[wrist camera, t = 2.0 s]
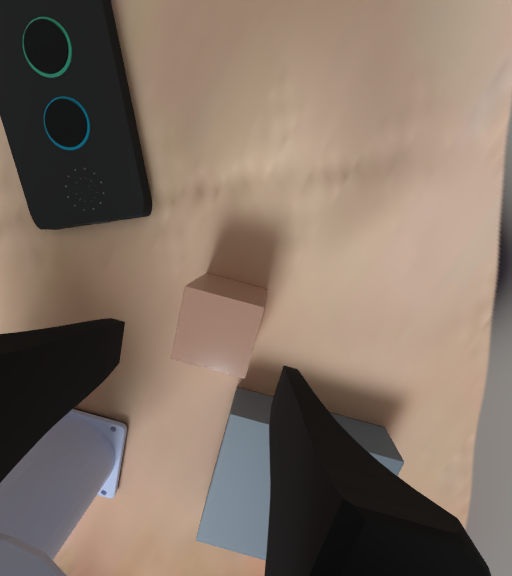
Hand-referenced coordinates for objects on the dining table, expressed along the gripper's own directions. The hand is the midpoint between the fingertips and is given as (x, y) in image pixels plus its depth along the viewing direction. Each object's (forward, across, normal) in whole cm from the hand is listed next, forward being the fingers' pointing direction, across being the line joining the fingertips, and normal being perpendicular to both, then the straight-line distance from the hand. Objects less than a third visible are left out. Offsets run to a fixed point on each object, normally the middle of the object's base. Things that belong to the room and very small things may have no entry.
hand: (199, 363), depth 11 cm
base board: (+8, -8, +12) cm, 16 cm away
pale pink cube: (+8, 0, 0) cm, 8 cm away
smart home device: (+8, +14, -13) cm, 21 cm away
